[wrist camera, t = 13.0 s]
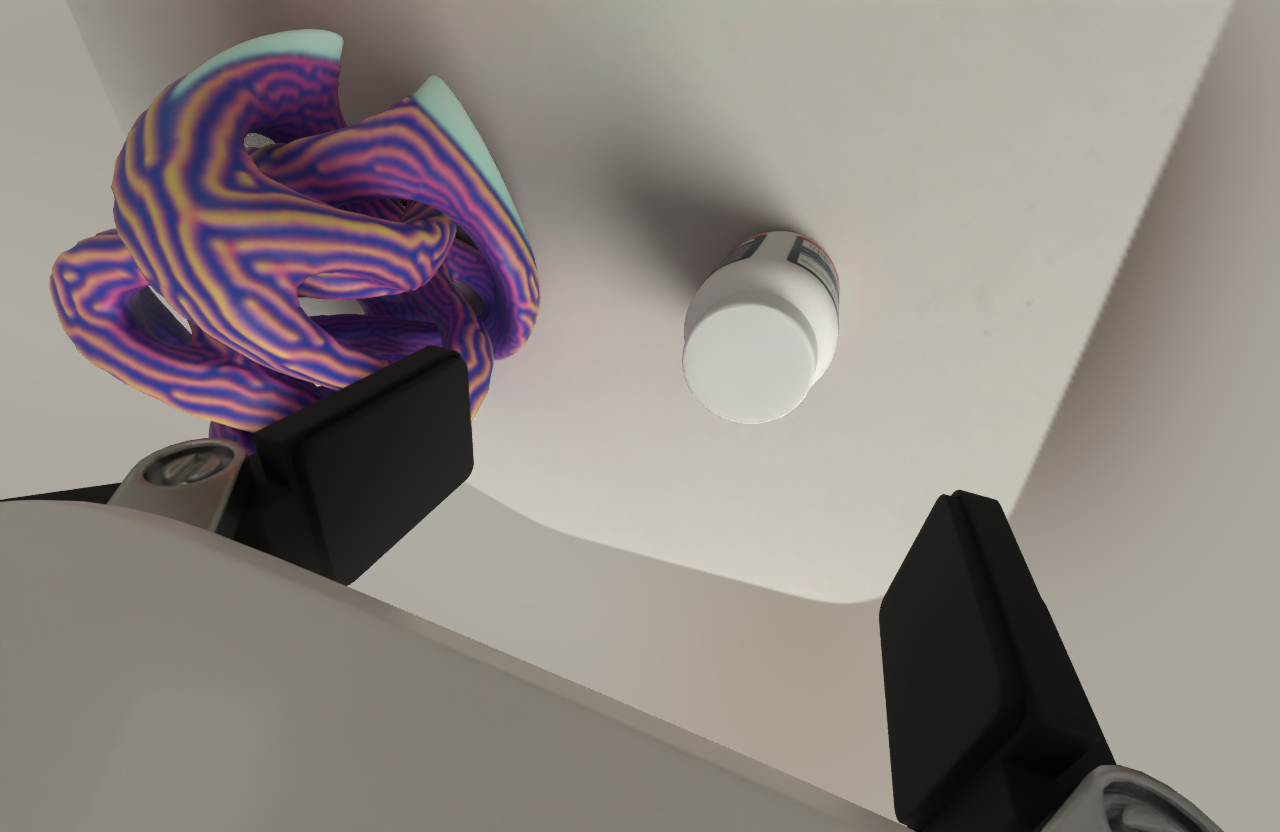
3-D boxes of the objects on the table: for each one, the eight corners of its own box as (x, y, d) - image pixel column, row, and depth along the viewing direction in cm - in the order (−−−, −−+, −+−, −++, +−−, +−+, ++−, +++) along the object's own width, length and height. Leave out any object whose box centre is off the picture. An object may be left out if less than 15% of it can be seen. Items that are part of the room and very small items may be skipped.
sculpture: (336, 73, 27) (258, 405, 32) (-115, -248, 11) (-146, 524, 16) (603, 190, 29) (492, 493, 33) (550, 56, 12) (346, 688, 17)
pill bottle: (713, 339, 25) (656, 427, 17) (722, 226, 22) (660, 271, 15) (828, 354, 23) (819, 456, 16) (852, 233, 20) (855, 289, 13)
